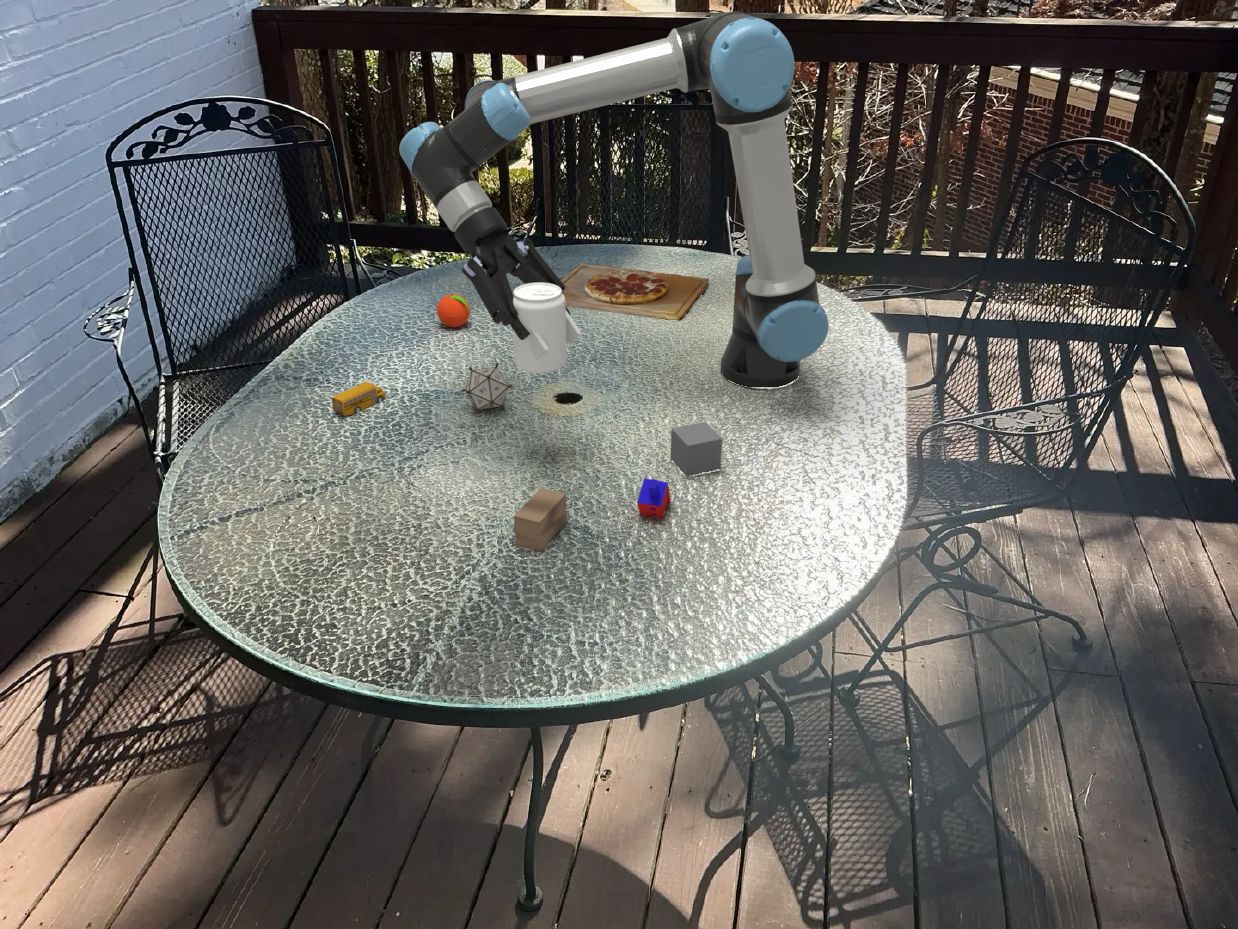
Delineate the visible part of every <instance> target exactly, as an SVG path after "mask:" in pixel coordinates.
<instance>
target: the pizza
mask: <svg viewBox="0 0 1238 929" xmlns="http://www.w3.org/2000/svg"><path fill="white" fill-rule="evenodd" d="M559 279H560V281H561V282H562V283H563V284H564V286H565V290H564V291H563V293H562V294H563V295H564V297H565V306H566V307H567V308H569V307H570V308H576V309H584V310H591V311H598V312H605V313H613V314H621V315H626V316H633V317H634V316H635V317H641V316H642V318H643V317H644V318H653V317H654V319H655V320H659V319H665V320H679V319H680V318H681V319H683V318H684V317H685V315H686V314H688V313H689V311H690V309H691V308H690V306H691V307H692V306H693V304H694V303H695V302H694V301H696V300H697V299H699V297H700V296H699V295H701V294H703V295H704V294H705V291H706V288H707V286H708V284H709V281H710V279H709V278H704V277H696V276H692V275H689V276H686V275H682V274H678V273H677V274H676V273H675V274H674V273H664V272H654V271H649V270H642V269H639V270H638V269H631V268H621V267H616V266H610V265H607V266H605V265H601V264H592V263H584V262H582V263H578V265H577V266H575V267H574V268H573V269H572V270H571V271H569V273H567V274H566V275H565V276H562V277H560V278H559ZM698 296H699V297H698ZM696 298H697V299H696ZM693 302H694V303H693ZM689 308H690V309H689ZM687 312H688V313H687ZM685 313H686V314H685ZM684 314H685V315H684ZM683 316H684V317H683ZM682 317H683V318H682ZM681 319H680V320H681ZM680 320H679V321H680Z"/></svg>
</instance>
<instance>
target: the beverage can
mask: <svg viewBox="0 0 1238 929" xmlns="http://www.w3.org/2000/svg"><path fill="white" fill-rule="evenodd" d="M513 297H514V299H513V304H514V307H515V309H516V310H517V312H518V316H517V317H518V318H519V320H520V322H521V323H522V324H523V326H524V327H525V328H526V329H527V330H528V331H529V332H530V328H531V329H532V330H533V331H534V332H536V333H537V334H539V335H540V336H541V338H542V339H543V341H544V342H545V344H546V345H547V346H548V348H549V350H548V351H546V352H545V353H544V354H543V355H542V356H541V357H540V358H538V359H536V358H535V356H534V355H533V353H532V352H531V334H530V335H529V336H528V337H526V338H525V339H524V340H521V339H519V337H518V336H517V334H516V333H515V332H514V330H513V329H512V338H513V339H512V340H513V343H512V344H513V356H514V357H513V359H514V364H515V366H516V367H517V368H518V369H520V370H523V371H526V372H529V373H532V374H533V373H534V374H548V373H551V372H555V371H557V370H560V369H561V368H563V367H565V365H566V364H567V362H568V348H567V347H568V346H567V341H568V340H567V339H566V307H567V306H565V297H564V295H563V294H562V290H561V288H560V287H559V286H557V285H554V284H550V283H528V284H525V283H523V284H521V285H519V286H517V287H516V288H514V290H513ZM530 333H531V332H530Z"/></svg>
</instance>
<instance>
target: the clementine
mask: <svg viewBox="0 0 1238 929" xmlns="http://www.w3.org/2000/svg"><path fill="white" fill-rule="evenodd" d="M436 307H437V308H436V312H437V313H436V314H437V317H438V318H439V321H440V322H442V324H444V325H445V326H447V327H449V328H458V327H462V326H463V325H465V324H466V322H467V321H468V320H469V318H470V313H471V308H470V304H469V303H468V301H467V300H466V299H465V297H463V296H462V295H459V294H456V293H450V294H447V295H445V296H443V297H442V298H441V299H440V300H439V302H438V304H437V306H436Z"/></svg>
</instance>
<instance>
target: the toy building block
mask: <svg viewBox="0 0 1238 929" xmlns="http://www.w3.org/2000/svg"><path fill="white" fill-rule="evenodd" d="M642 481H643V482H642V484H641V489H640V490H639V491H640V492H639V495H638V497H637V502H636V504H637V508H638V512H639V515H642V516H648V517H655V518H659V519H664V518H665V517H664V516H665V513H666V510H667V507H668V506H667V505H668V504H671V495H670V488H669V482H668V481H662V480H657V479H655V478H651V479H650V478H643V480H642Z"/></svg>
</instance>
